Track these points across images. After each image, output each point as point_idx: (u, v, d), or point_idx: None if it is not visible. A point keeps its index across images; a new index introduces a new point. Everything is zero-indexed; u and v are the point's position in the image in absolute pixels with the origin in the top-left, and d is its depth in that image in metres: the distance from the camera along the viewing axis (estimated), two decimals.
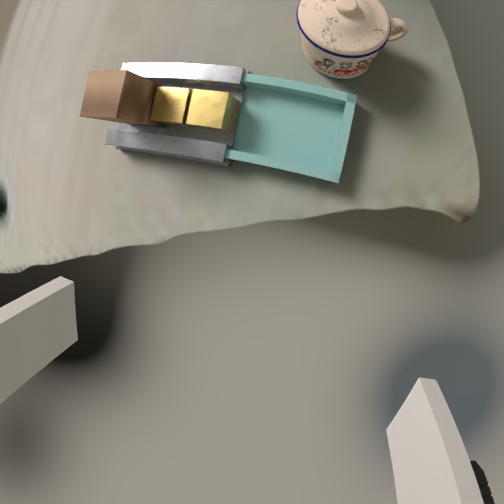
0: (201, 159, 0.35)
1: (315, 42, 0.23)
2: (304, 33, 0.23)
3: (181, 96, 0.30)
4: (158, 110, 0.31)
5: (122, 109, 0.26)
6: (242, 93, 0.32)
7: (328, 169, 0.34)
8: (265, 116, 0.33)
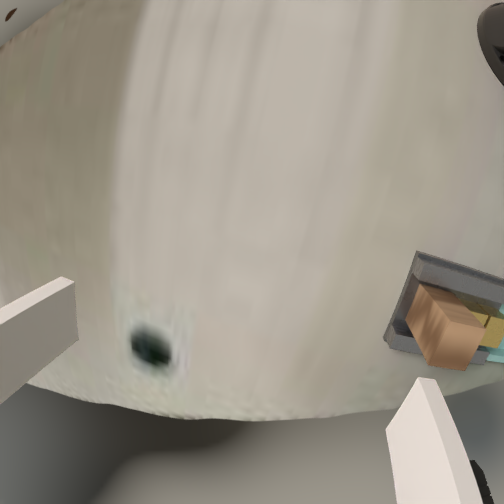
0: None
1: None
2: None
3: (481, 322, 0.29)
4: None
5: None
6: None
7: None
8: None
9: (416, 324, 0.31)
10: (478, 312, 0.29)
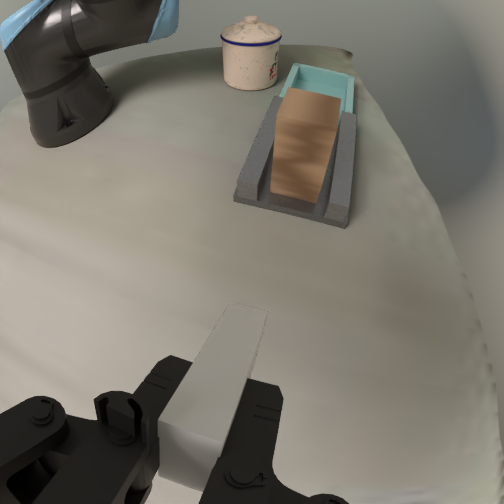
0: None
1: (272, 39, 0.36)
2: (264, 43, 0.36)
3: None
4: None
5: None
6: None
7: (343, 90, 0.44)
8: None
9: (311, 177, 0.29)
10: None
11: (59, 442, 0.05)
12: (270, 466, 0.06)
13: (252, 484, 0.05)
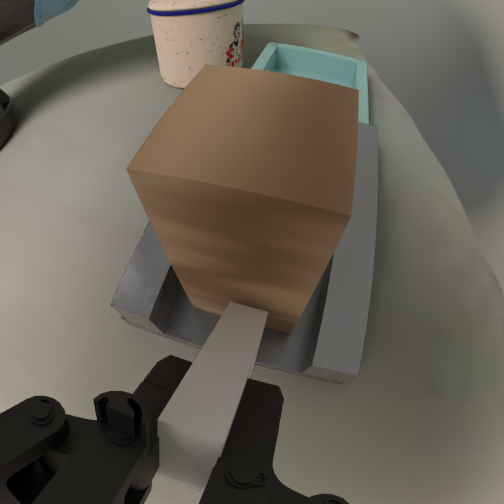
0: None
1: (226, 2, 0.19)
2: (211, 7, 0.19)
3: None
4: None
5: None
6: None
7: (349, 83, 0.27)
8: None
9: (272, 305, 0.12)
10: None
11: (59, 442, 0.05)
12: (270, 466, 0.06)
13: (252, 484, 0.05)
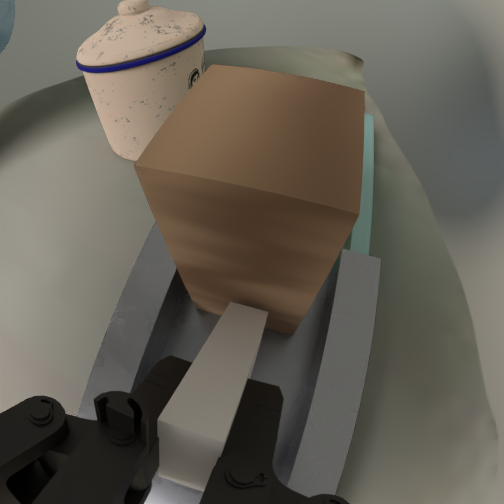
0: None
1: (172, 45, 0.14)
2: (149, 56, 0.14)
3: None
4: None
5: None
6: None
7: None
8: None
9: (276, 306, 0.12)
10: None
11: (59, 442, 0.05)
12: (270, 466, 0.06)
13: (252, 484, 0.05)
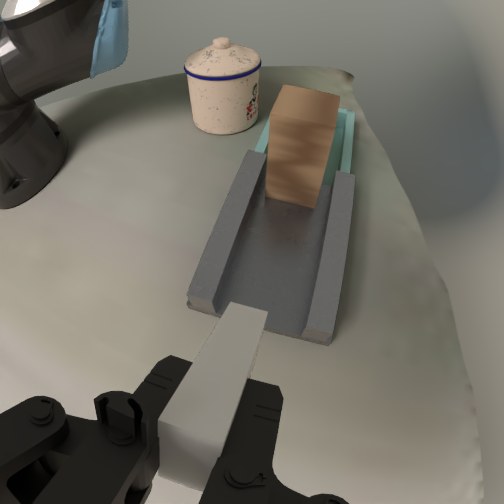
0: None
1: (247, 70, 0.29)
2: (236, 75, 0.29)
3: None
4: None
5: None
6: None
7: (341, 129, 0.37)
8: None
9: (308, 181, 0.27)
10: None
11: (59, 442, 0.05)
12: (270, 466, 0.06)
13: (252, 484, 0.05)
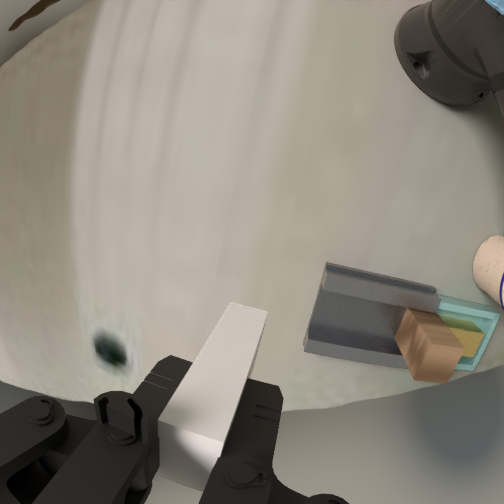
0: None
1: None
2: (501, 300, 0.28)
3: (458, 336, 0.34)
4: None
5: None
6: None
7: None
8: None
9: (404, 343, 0.35)
10: (455, 327, 0.34)
11: (59, 442, 0.05)
12: (270, 466, 0.06)
13: (252, 484, 0.05)
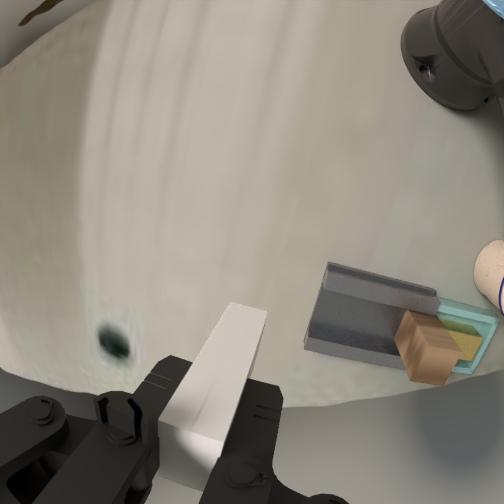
0: None
1: None
2: (500, 305, 0.28)
3: (457, 339, 0.34)
4: None
5: None
6: None
7: None
8: None
9: (402, 344, 0.36)
10: (454, 330, 0.34)
11: (59, 442, 0.05)
12: (270, 466, 0.06)
13: (252, 484, 0.05)
